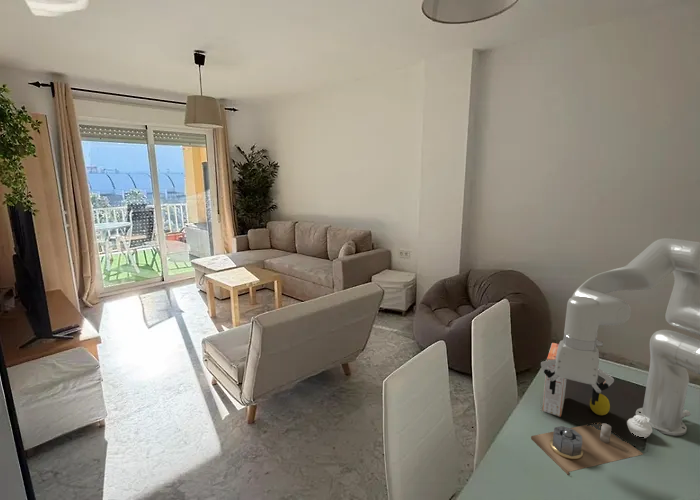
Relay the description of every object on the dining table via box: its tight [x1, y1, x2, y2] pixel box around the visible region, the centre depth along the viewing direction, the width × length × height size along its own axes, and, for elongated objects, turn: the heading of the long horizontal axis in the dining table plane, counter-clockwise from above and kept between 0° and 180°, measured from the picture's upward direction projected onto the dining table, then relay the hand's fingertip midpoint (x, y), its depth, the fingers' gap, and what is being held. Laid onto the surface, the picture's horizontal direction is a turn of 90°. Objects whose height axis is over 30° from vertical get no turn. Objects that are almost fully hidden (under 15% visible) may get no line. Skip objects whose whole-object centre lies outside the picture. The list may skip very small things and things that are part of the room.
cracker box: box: [542, 342, 568, 418], centre depth 123 cm, size 14×6×21 cm, turn 144°
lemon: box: [589, 393, 611, 416], centre depth 119 cm, size 6×6×8 cm
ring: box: [553, 425, 582, 456], centre depth 103 cm, size 7×7×4 cm
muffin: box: [626, 414, 653, 439], centre depth 109 cm, size 6×6×7 cm
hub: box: [550, 430, 583, 460], centre depth 103 cm, size 8×8×6 cm
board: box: [530, 421, 644, 476], centre depth 105 cm, size 26×14×6 cm, turn 103°
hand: (572, 397), depth 100 cm, fingers open, 9 cm apart
